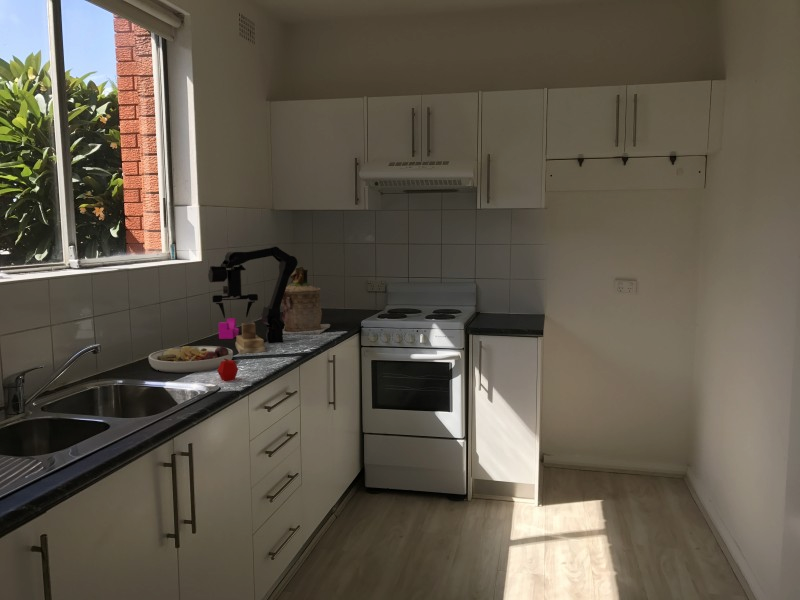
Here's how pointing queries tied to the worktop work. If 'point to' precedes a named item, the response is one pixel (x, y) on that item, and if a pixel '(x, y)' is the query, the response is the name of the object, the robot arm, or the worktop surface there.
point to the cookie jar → (302, 306)
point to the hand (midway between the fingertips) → (235, 317)
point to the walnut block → (248, 330)
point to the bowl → (189, 358)
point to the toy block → (228, 329)
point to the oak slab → (250, 342)
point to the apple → (227, 370)
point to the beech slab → (251, 350)
